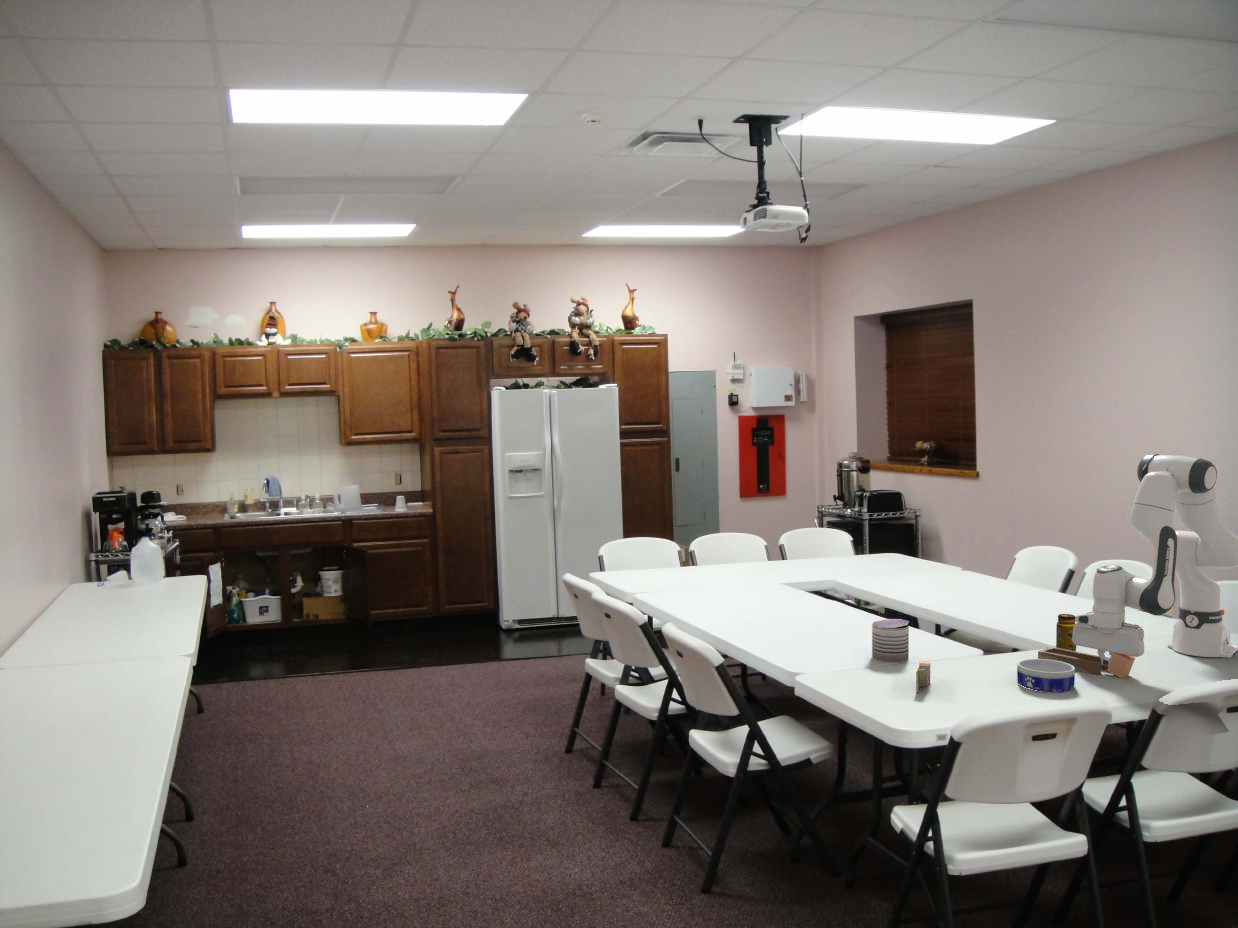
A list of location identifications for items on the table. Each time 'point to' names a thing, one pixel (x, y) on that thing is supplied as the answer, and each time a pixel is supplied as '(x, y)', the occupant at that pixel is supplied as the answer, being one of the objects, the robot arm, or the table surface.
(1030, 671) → the dog bowl
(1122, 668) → the block
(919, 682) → the model
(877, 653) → the can
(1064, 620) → the condiment
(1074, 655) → the channel
